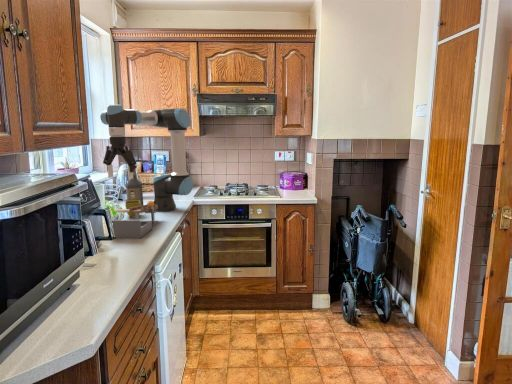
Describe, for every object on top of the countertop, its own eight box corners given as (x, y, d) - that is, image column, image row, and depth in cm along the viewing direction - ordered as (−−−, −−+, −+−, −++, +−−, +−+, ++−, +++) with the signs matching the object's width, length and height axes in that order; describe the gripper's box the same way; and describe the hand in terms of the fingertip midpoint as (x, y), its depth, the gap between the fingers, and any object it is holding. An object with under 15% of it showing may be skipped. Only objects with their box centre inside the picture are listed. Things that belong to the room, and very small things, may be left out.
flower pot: (126, 215, 225) (124, 201, 223) (140, 213, 228) (139, 199, 226) (126, 218, 217) (125, 203, 215) (141, 216, 220) (140, 202, 218)
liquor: (130, 207, 247) (127, 163, 242) (144, 206, 248) (141, 163, 243) (126, 210, 238) (123, 164, 233) (141, 209, 239) (137, 164, 234)
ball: (150, 206, 212) (150, 200, 212) (155, 207, 211) (155, 200, 210) (145, 207, 209) (145, 200, 208) (151, 208, 207) (150, 201, 207)
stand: (137, 222, 206) (136, 206, 204) (158, 222, 205) (157, 206, 203) (132, 226, 198) (130, 209, 197) (153, 226, 197) (152, 209, 196)
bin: (124, 229, 192) (123, 213, 191) (152, 229, 191) (151, 213, 190) (111, 238, 178) (109, 220, 176) (141, 238, 176) (139, 220, 175)
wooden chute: (132, 212, 213) (131, 203, 213) (158, 212, 212) (158, 203, 212) (112, 216, 189) (112, 207, 189) (142, 216, 188) (142, 207, 188)
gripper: (93, 136, 183) (97, 178, 187) (130, 136, 173) (134, 180, 176) (105, 136, 190) (108, 176, 194) (141, 136, 179) (144, 178, 183)
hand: (120, 178), depth 185 cm, fingers open, 13 cm apart
